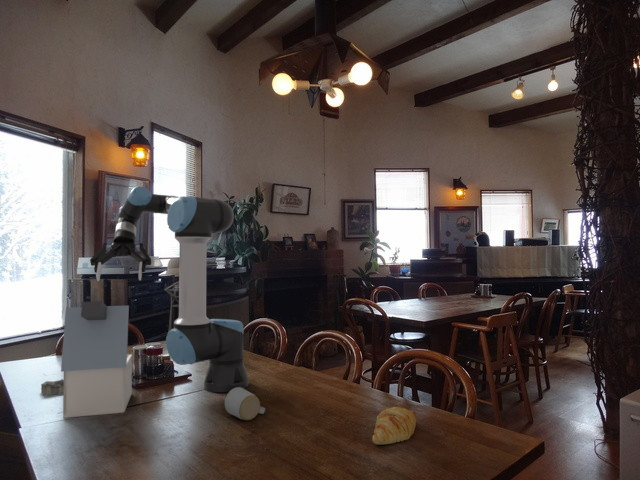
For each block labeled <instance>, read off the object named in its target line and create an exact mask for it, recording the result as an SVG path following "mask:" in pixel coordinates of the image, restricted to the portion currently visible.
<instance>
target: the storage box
mask: <svg viewBox="0 0 640 480" xmlns="http://www.w3.org/2000/svg"><path fill="white" fill-rule="evenodd" d="M132 367H133V354H127V366H126V367H124V368H109V369H93V370H78V371H63V380H64V389H63V393H62V395H63V399H62V400H63V401H62V404H63V406H62V408H63V410H62V413H63V414H62V418H76V417H77V418H78V417H87V416H98V415H108V414H110V415H111V414H119V413H120V414H121V413H122V414H123V413H125V412H126V409H127V406H128V404H129V401H130V400H131V397H132V394H133V391H132V390H133V387H132V386H133V385H132V384H133V382H132V381H133V374H132V373H133V368H132Z"/></svg>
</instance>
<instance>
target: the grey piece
mask: <svg viewBox="0 0 640 480" xmlns="http://www.w3.org/2000/svg"><path fill="white" fill-rule="evenodd" d="M63 389H64V378H62V379H60V380H54V381H51V380H47V381H44V382H43V383H41V388H40V390H41V394H42V396H43V397H44V396H46V397H47V396H48V397H50V396H52V395H56V394H57V395H60V394H61V395H63Z"/></svg>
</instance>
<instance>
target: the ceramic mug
mask: <svg viewBox="0 0 640 480" xmlns="http://www.w3.org/2000/svg"><path fill="white" fill-rule="evenodd" d="M224 408H225V410H226V412H227V413H228V414H230V415H232V416H233V417H236V418H238V419H240V420H243V421H251V420H253V419H255V418H256V416H257V415H258V414H260V415H264V414H265V412H266V408H265V407H264V406H261V402H260V399H259V398H258V397H257V396H256V394H255V393H252V392H250V391H248V390H247V389H246V388H244V389H243V388H241V387H236V388H234V389H232V390H231V391H230V392H227V394H226V397H225V398H224Z"/></svg>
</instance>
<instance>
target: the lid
mask: <svg viewBox="0 0 640 480" xmlns="http://www.w3.org/2000/svg"><path fill="white" fill-rule="evenodd" d="M129 309H130V305H108V306H107V305H106V304H105V303H104V302H103V301H101V300H100V301H81V306H73V307H71V306H69V307H65V315H64V325H63V326H64V327H63V337H62V338H63V341H62V354H61V369H60V372H63V373H64V371H78V370H93V369H109V368H124V367H126V366H127V355H128V341H129V340H128V338H129V337H128V336H129V312H130V311H129Z"/></svg>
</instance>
